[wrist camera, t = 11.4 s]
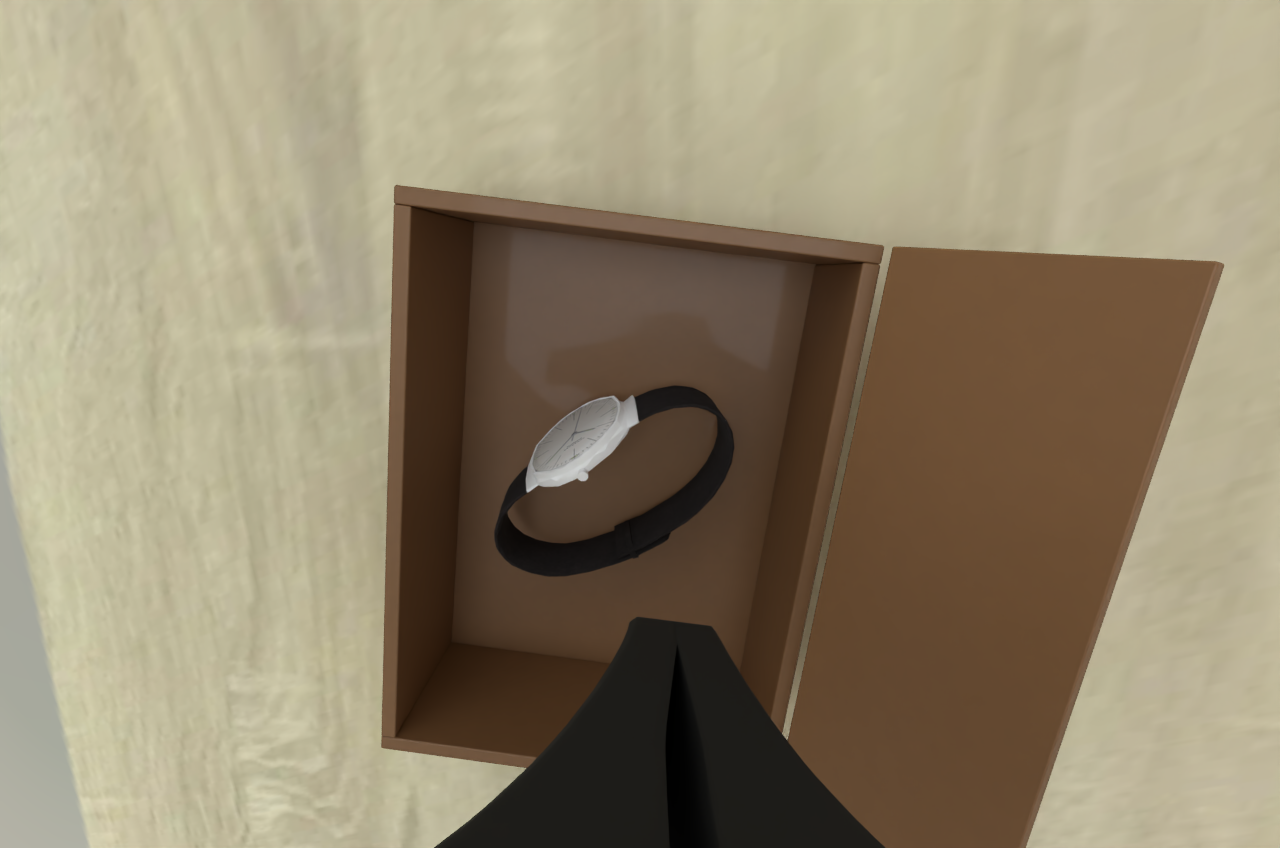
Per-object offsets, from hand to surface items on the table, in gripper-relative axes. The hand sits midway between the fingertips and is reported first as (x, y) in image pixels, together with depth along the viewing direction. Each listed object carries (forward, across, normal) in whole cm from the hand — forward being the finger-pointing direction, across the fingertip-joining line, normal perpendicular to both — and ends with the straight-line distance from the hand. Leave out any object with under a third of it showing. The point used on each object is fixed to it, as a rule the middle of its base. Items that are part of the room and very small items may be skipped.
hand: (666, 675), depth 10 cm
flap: (+3, -5, 0) cm, 6 cm away
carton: (+10, +2, 0) cm, 11 cm away
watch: (+10, +2, 0) cm, 10 cm away
